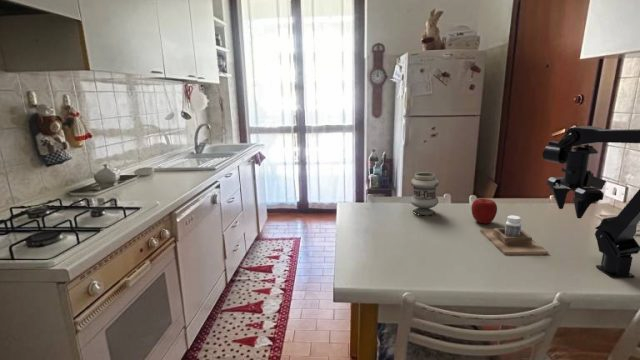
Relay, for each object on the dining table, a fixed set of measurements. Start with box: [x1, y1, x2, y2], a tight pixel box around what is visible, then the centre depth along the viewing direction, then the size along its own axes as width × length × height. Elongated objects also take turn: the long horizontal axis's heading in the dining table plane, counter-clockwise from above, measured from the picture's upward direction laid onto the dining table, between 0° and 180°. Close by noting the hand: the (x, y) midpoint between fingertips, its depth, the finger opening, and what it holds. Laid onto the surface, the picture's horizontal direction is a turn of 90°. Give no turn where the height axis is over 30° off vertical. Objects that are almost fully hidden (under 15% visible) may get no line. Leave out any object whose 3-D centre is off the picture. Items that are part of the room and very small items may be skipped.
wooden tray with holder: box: [479, 227, 549, 256], centre depth 124 cm, size 20×14×4 cm
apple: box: [471, 198, 498, 225], centre depth 143 cm, size 10×10×10 cm
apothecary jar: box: [410, 171, 440, 217], centre depth 156 cm, size 12×12×18 cm
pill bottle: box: [504, 215, 522, 237], centre depth 123 cm, size 5×5×8 cm
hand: (569, 213), depth 114 cm, fingers open, 9 cm apart
